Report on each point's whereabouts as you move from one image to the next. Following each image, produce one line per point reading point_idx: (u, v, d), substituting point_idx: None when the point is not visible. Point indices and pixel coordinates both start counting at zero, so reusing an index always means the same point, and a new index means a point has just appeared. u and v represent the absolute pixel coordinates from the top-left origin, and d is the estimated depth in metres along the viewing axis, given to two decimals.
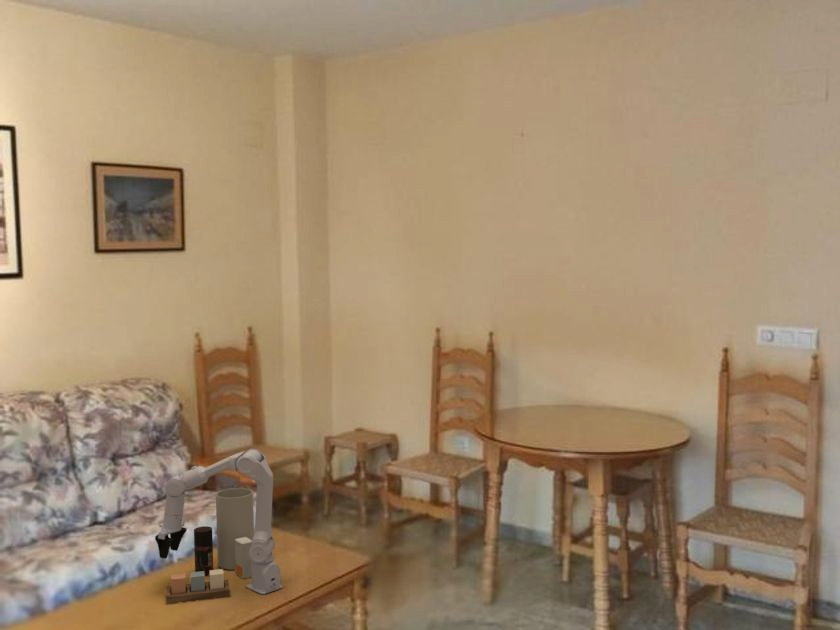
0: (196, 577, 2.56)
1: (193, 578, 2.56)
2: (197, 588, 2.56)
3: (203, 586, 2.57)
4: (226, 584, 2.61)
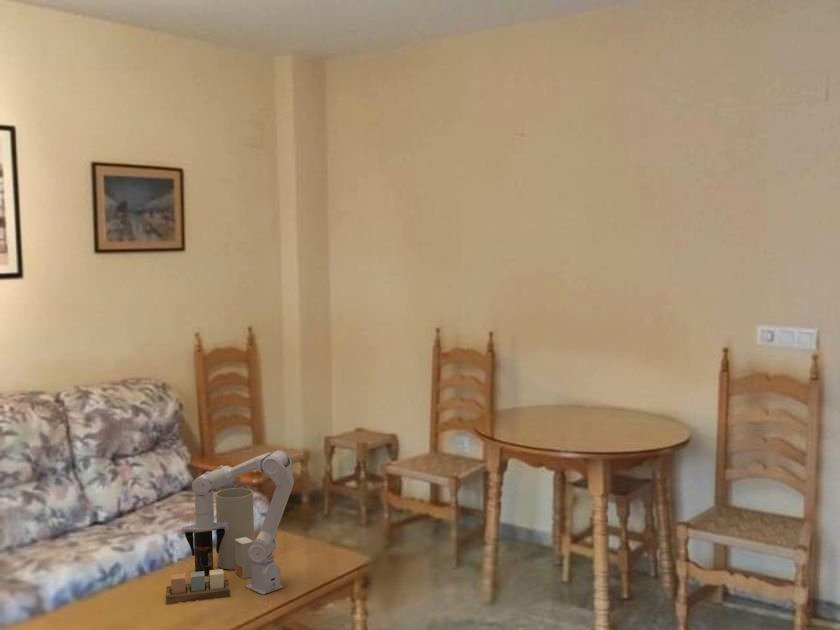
0: (196, 577, 2.56)
1: (193, 578, 2.56)
2: (197, 588, 2.56)
3: (203, 586, 2.57)
4: (226, 584, 2.61)
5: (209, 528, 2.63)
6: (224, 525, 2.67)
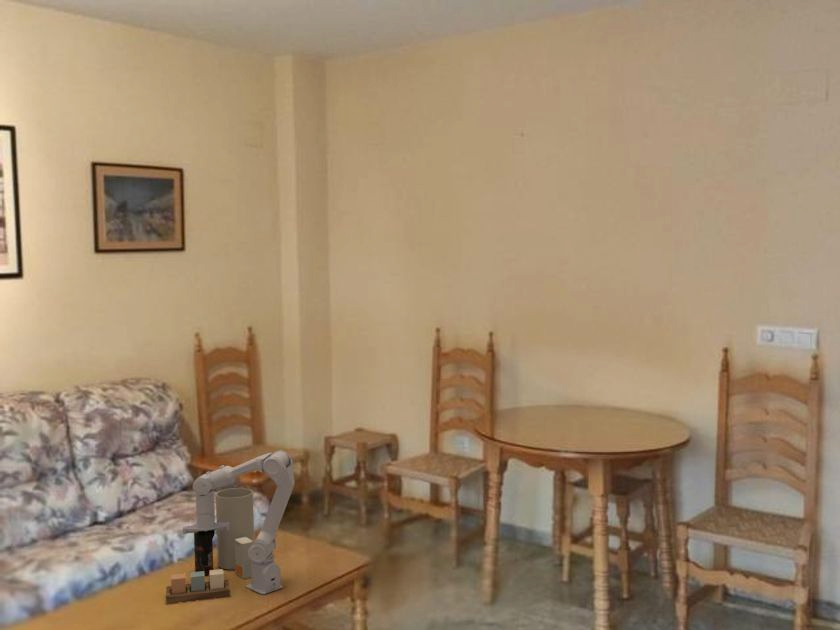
0: (196, 577, 2.56)
1: (193, 578, 2.56)
2: (197, 588, 2.56)
3: (203, 586, 2.57)
4: (226, 584, 2.61)
5: (210, 528, 2.63)
6: (225, 525, 2.66)
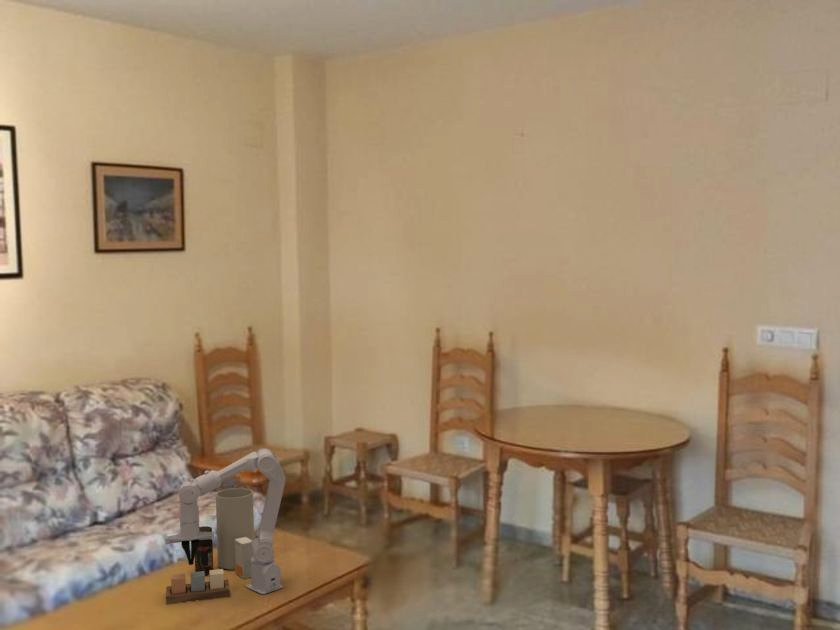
0: (196, 577, 2.56)
1: (193, 578, 2.56)
2: (197, 588, 2.56)
3: (203, 586, 2.57)
4: (226, 584, 2.61)
5: (194, 538, 2.55)
6: (210, 534, 2.58)
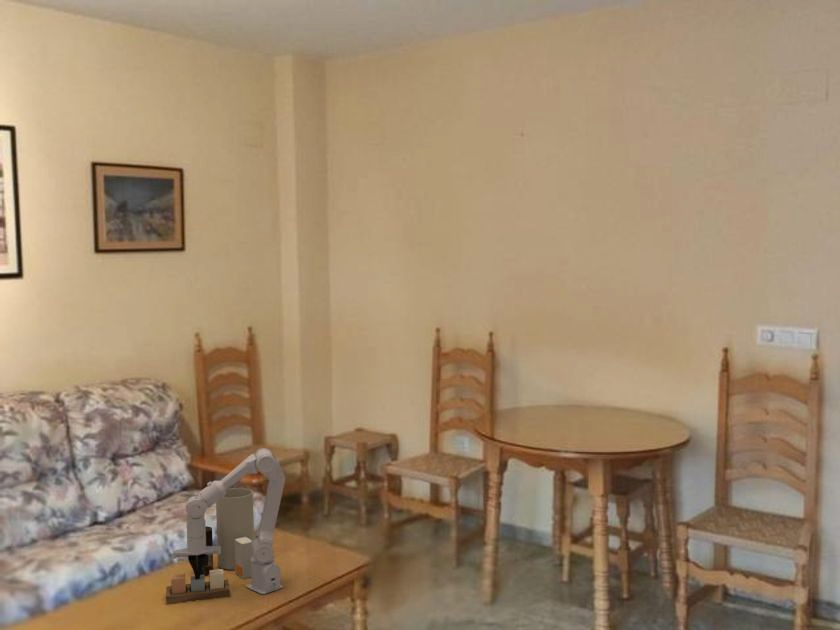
0: (196, 581, 2.56)
1: (193, 582, 2.56)
2: None
3: (203, 590, 2.57)
4: (226, 584, 2.61)
5: (201, 552, 2.56)
6: (217, 549, 2.58)
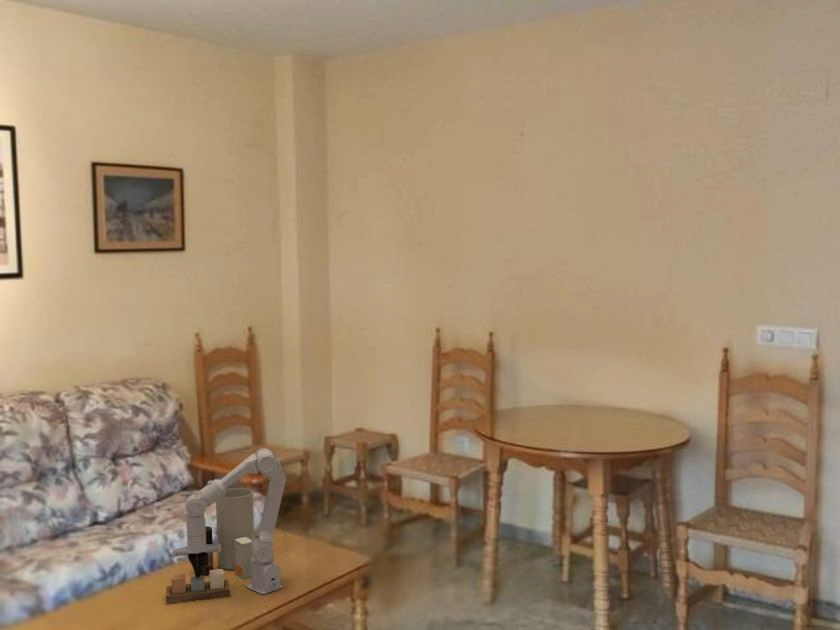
0: (196, 581, 2.56)
1: (193, 582, 2.56)
2: None
3: (203, 590, 2.57)
4: (226, 584, 2.61)
5: (201, 551, 2.56)
6: (217, 547, 2.58)
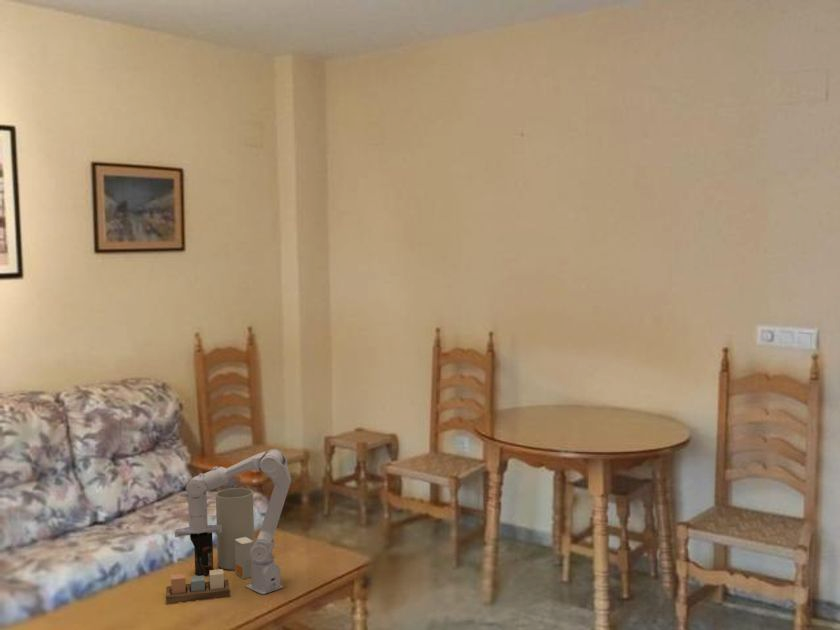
0: (196, 581, 2.56)
1: (193, 582, 2.56)
2: None
3: (203, 590, 2.57)
4: (226, 584, 2.61)
5: (202, 531, 2.61)
6: (218, 528, 2.64)
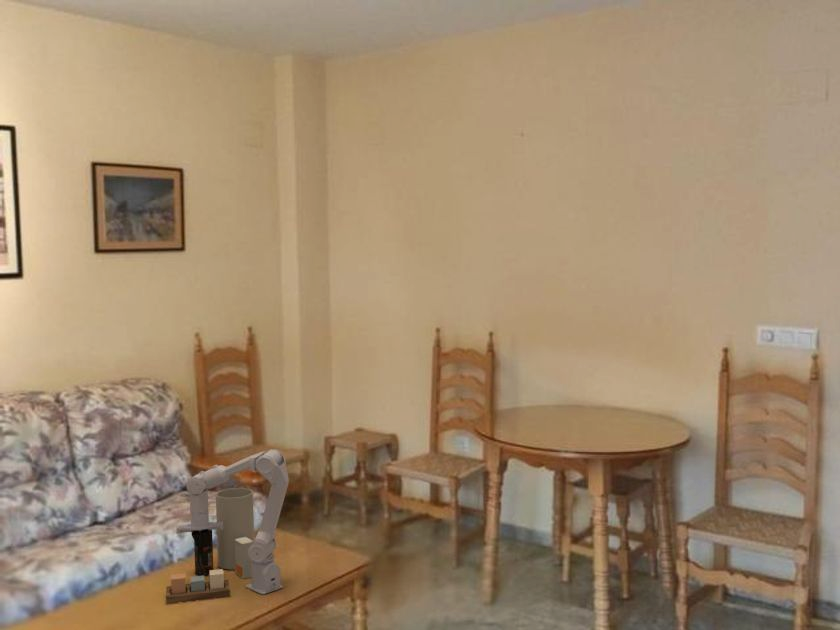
0: (196, 581, 2.56)
1: (193, 582, 2.56)
2: None
3: (203, 590, 2.57)
4: (226, 584, 2.61)
5: (204, 527, 2.64)
6: (219, 525, 2.67)
